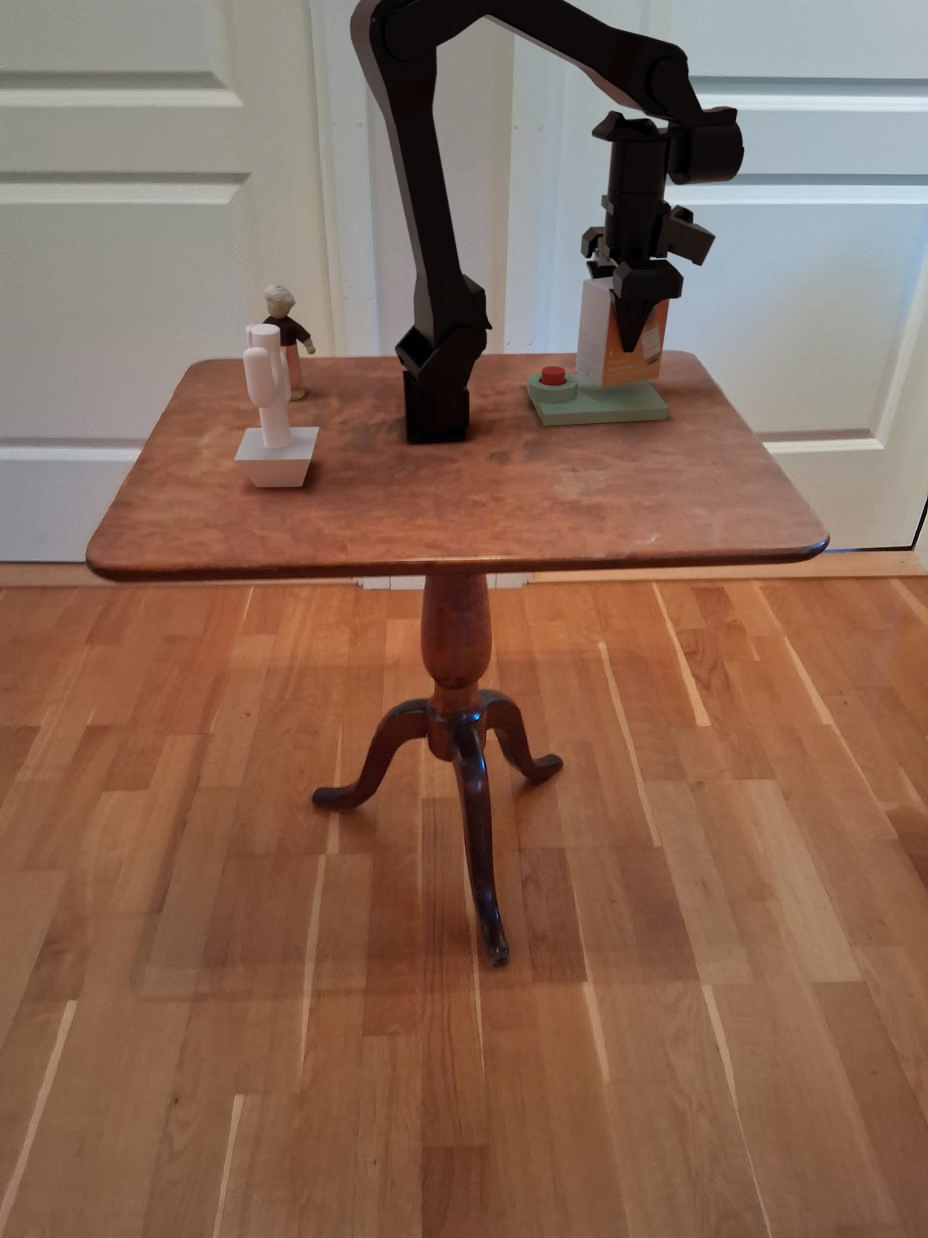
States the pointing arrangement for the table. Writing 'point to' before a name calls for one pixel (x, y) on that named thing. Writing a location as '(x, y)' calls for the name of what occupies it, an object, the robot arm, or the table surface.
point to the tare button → (553, 376)
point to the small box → (616, 340)
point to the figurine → (272, 416)
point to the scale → (594, 401)
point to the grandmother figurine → (288, 334)
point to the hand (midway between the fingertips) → (620, 341)
